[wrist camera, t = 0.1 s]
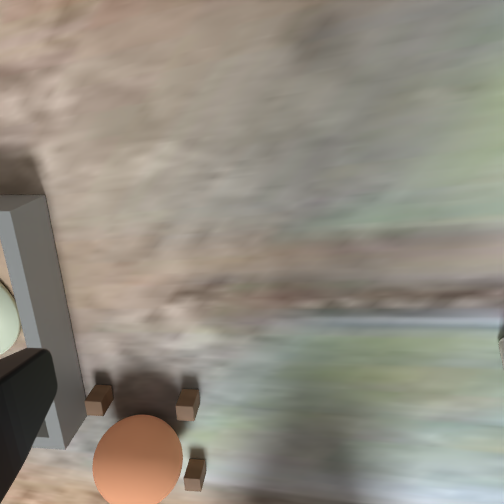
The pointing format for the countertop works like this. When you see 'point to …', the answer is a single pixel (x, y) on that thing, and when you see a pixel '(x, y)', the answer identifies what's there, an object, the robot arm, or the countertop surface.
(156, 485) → the ball
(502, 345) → the container
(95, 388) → the cradle
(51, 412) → the grey shallow tray
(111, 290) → the countertop surface
